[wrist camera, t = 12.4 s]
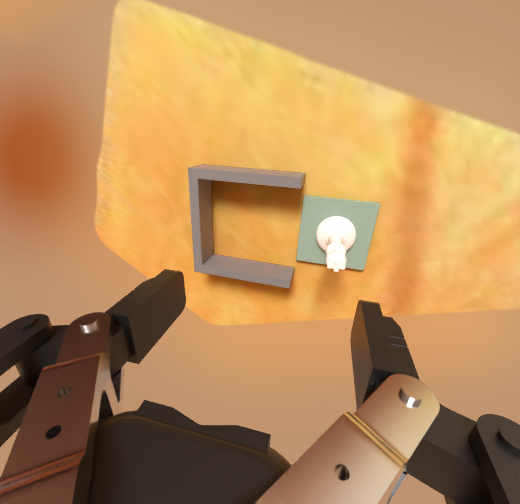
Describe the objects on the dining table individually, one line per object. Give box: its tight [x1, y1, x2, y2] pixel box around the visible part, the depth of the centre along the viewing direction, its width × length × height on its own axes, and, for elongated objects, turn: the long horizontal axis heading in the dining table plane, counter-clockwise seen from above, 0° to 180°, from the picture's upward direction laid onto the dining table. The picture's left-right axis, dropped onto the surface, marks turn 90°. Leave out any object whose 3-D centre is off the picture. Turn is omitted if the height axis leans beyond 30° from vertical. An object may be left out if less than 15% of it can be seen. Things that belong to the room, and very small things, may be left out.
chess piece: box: [316, 216, 356, 272], centre depth 29 cm, size 5×5×10 cm
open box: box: [188, 164, 305, 288], centre depth 35 cm, size 14×14×4 cm
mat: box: [296, 195, 380, 270], centre depth 34 cm, size 9×9×1 cm
